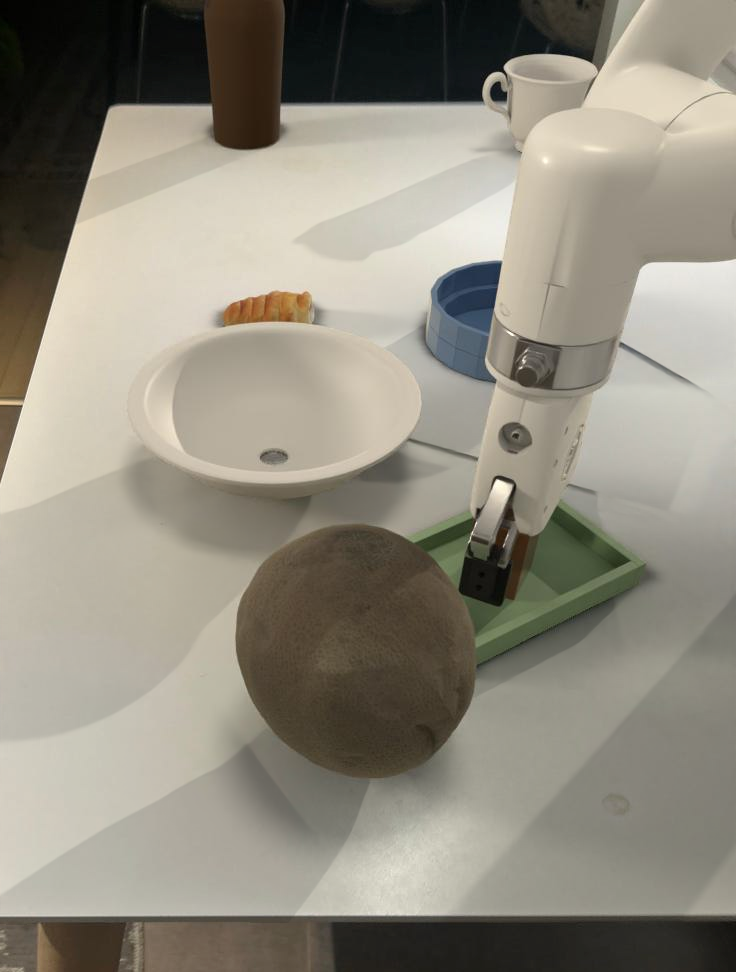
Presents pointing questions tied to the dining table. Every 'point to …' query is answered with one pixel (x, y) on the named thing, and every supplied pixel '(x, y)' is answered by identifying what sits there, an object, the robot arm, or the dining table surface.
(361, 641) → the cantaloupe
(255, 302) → the pastry
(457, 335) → the blue bowl
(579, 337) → the robot arm
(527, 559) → the block
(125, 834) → the dining table surface
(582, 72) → the teacup
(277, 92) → the olive oil
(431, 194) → the dining table surface
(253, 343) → the vessel sink basin
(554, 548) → the tray
